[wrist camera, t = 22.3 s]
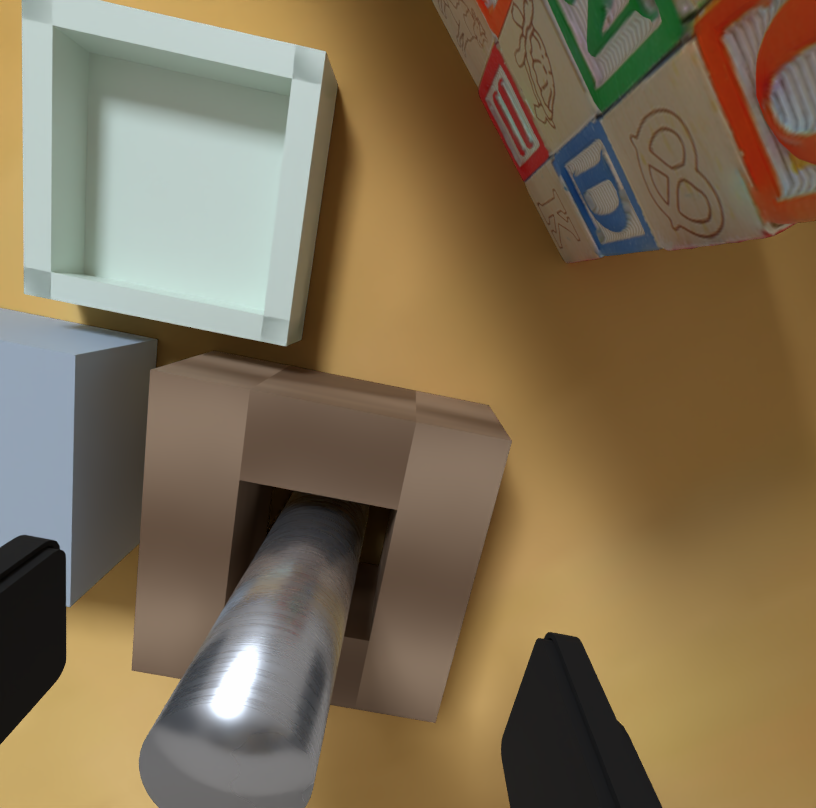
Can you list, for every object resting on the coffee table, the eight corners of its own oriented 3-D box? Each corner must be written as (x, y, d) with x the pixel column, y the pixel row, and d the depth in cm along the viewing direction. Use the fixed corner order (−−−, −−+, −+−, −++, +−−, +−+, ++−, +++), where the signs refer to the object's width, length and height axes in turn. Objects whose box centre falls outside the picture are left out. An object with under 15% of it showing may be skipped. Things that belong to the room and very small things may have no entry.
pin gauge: (297, 462, 17) (144, 689, 7) (375, 477, 17) (326, 720, 7) (287, 532, 18) (134, 823, 8) (362, 546, 18) (300, 850, 8)
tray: (77, 26, 14) (21, -18, 12) (338, 84, 14) (325, 51, 12) (72, 293, 16) (24, 293, 14) (301, 339, 16) (286, 346, 14)
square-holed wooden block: (213, 350, 16) (150, 369, 12) (488, 405, 16) (512, 440, 13) (191, 590, 18) (131, 670, 15) (430, 633, 19) (435, 722, 15)
